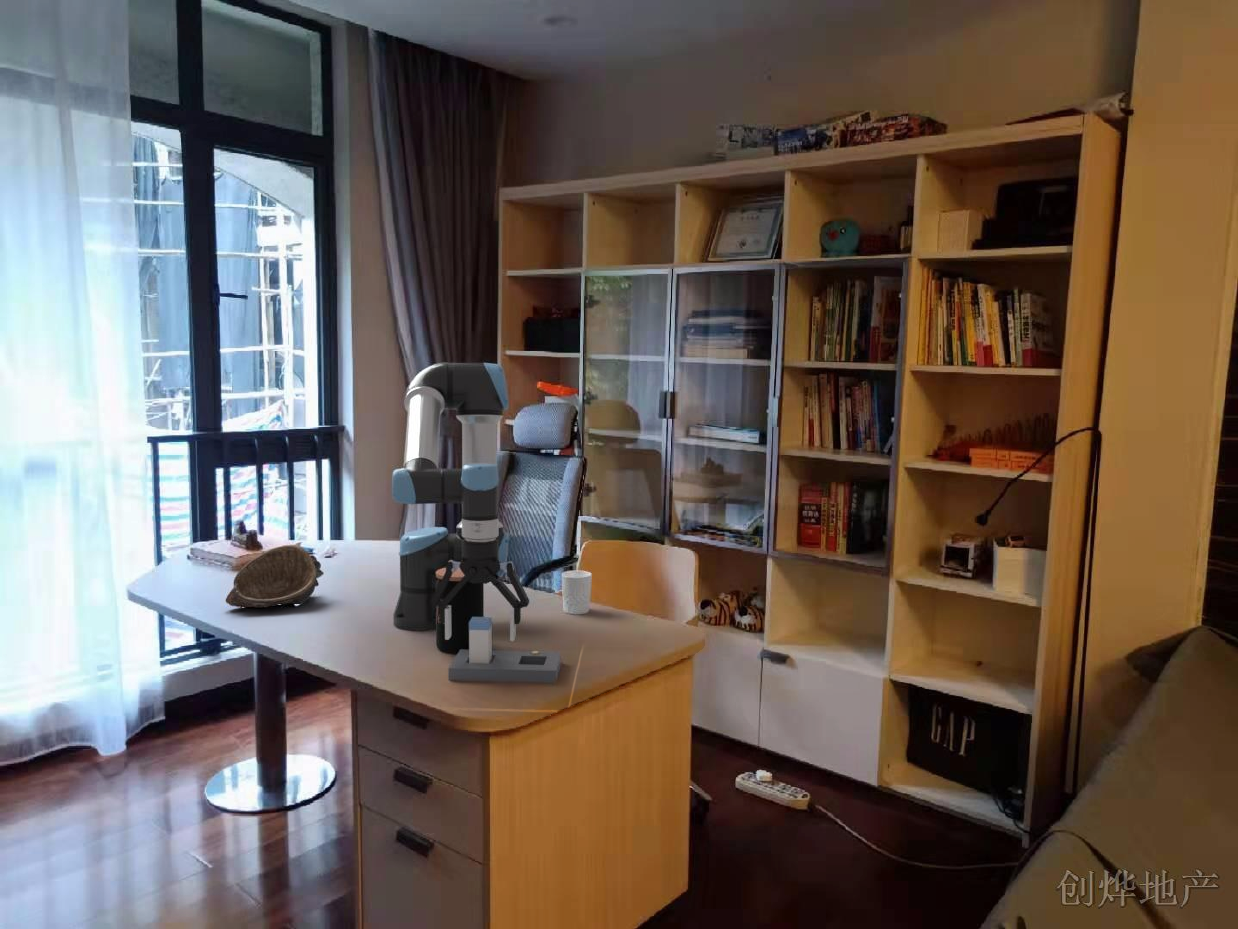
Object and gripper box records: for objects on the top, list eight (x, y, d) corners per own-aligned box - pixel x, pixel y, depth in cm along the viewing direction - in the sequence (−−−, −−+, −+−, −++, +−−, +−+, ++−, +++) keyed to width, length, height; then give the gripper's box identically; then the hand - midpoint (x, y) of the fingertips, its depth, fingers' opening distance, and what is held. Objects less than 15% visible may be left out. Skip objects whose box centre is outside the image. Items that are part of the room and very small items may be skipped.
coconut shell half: (234, 621, 228) (331, 582, 239) (213, 569, 233) (309, 533, 244) (241, 643, 240) (333, 605, 251) (221, 593, 246) (312, 558, 257)
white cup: (587, 616, 235) (587, 578, 234) (557, 614, 237) (558, 576, 236) (594, 608, 243) (594, 571, 242) (565, 606, 245) (565, 569, 244)
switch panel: (448, 682, 187) (448, 666, 186) (460, 662, 198) (460, 648, 198) (555, 685, 186) (556, 669, 186) (561, 665, 198) (561, 650, 197)
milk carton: (469, 673, 190) (468, 622, 189) (472, 667, 194) (472, 616, 193) (488, 674, 190) (488, 622, 189) (491, 667, 194) (491, 617, 193)
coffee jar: (438, 641, 213) (438, 566, 211) (485, 641, 214) (484, 565, 212) (433, 656, 202) (432, 577, 200) (482, 656, 203) (482, 576, 201)
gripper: (415, 540, 186) (416, 642, 188) (538, 543, 185) (537, 645, 187) (424, 534, 193) (425, 632, 195) (542, 536, 192) (541, 634, 195)
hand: (480, 638), depth 191 cm, fingers open, 13 cm apart
